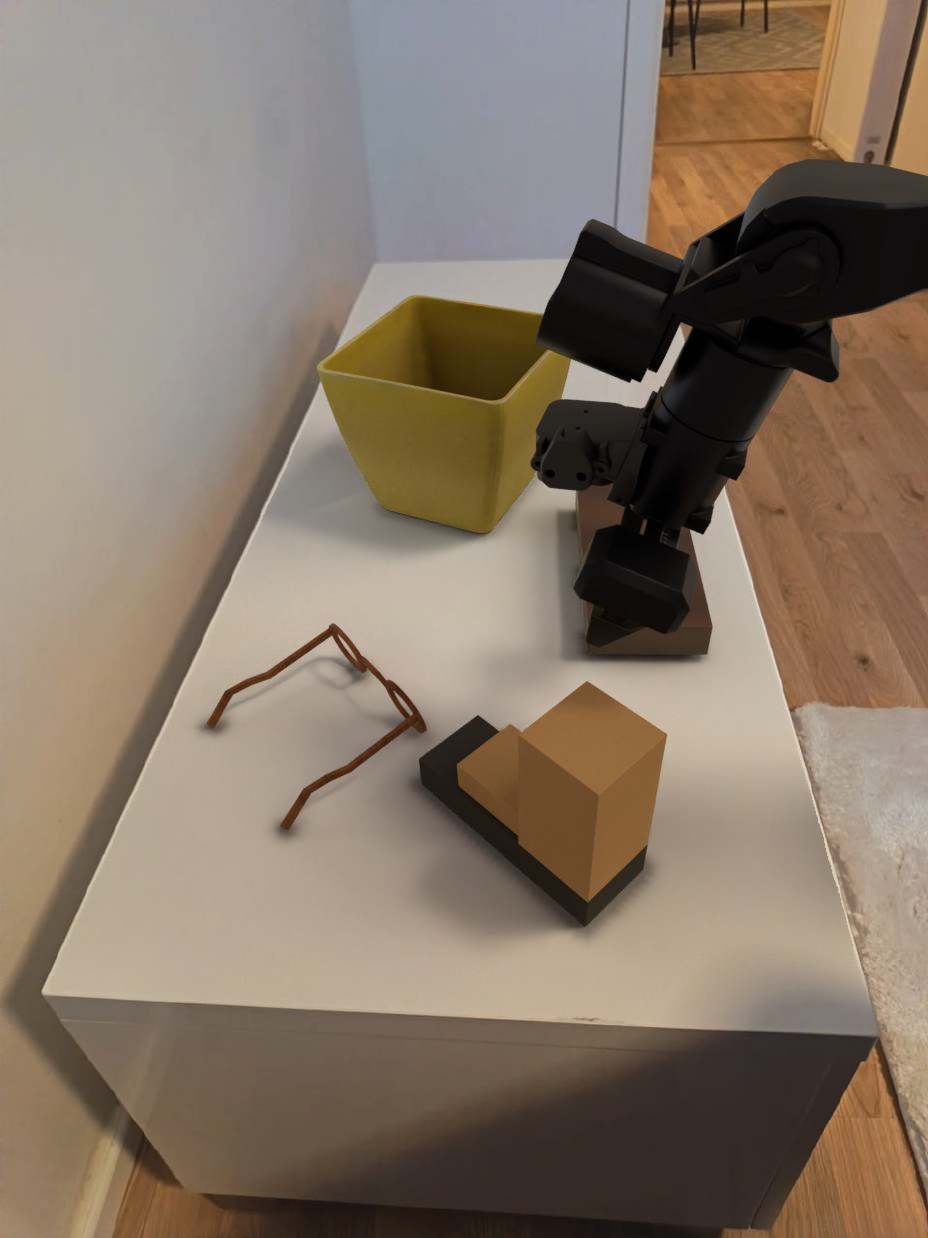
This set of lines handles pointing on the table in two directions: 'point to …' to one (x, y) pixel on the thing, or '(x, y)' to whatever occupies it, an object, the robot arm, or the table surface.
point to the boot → (558, 794)
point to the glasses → (361, 667)
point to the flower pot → (444, 406)
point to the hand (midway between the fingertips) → (606, 599)
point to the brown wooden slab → (684, 641)
